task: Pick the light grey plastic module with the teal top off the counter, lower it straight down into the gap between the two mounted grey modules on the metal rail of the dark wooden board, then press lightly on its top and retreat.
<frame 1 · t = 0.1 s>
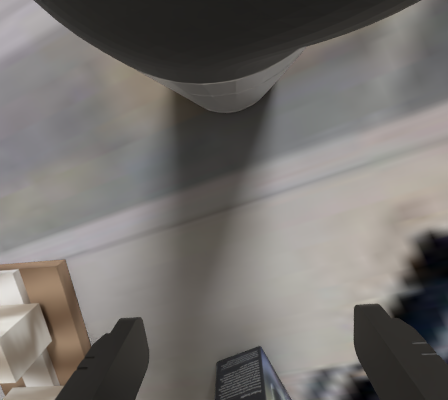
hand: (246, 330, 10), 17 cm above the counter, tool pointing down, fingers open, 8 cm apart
small box: (257, 381, 33), on the counter
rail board: (45, 349, 33), on the counter
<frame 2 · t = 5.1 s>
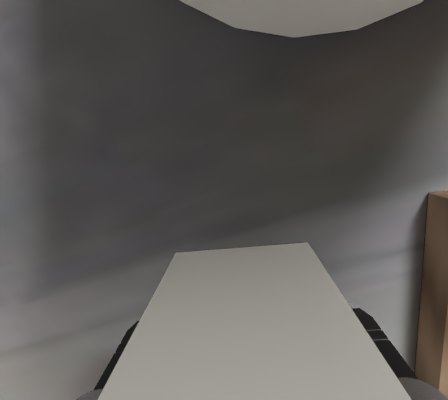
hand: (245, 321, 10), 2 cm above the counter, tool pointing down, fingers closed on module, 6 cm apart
module: (244, 291, 12), on the counter, touching gripper
when the fingers open (6 cm above the counter, at t = 11.7 s): module drops 1 cm, resting on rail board.
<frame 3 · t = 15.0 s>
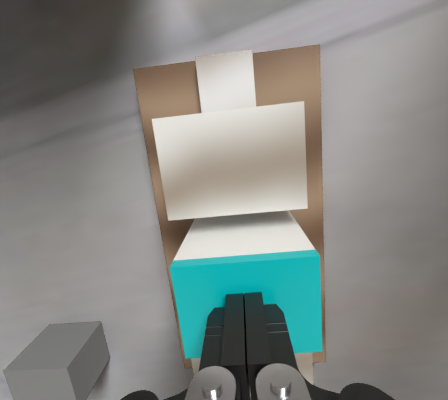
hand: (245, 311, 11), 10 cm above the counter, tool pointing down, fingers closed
grey block: (80, 340, 25), on the counter
module: (243, 238, 19), point 2 cm above the counter, touching gripper, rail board
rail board: (240, 226, 21), on the counter
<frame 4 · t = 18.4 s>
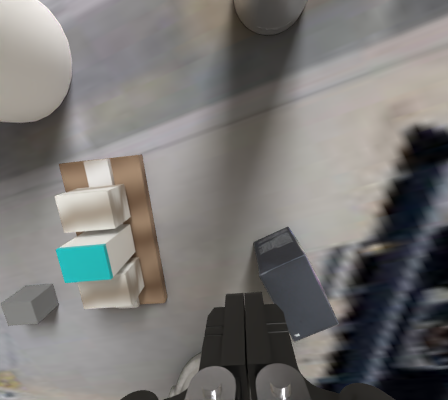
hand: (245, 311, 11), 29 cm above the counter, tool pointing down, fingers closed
grey block: (42, 294, 46), on the counter
small box: (284, 260, 42), on the counter
module: (113, 239, 40), point 2 cm above the counter, touching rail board
dish: (219, 374, 48), on the counter
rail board: (119, 233, 42), on the counter
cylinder: (13, 58, 37), on the counter
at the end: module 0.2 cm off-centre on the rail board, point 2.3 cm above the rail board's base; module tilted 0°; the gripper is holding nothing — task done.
